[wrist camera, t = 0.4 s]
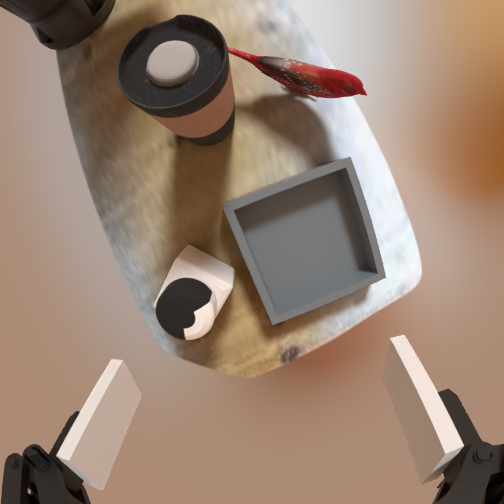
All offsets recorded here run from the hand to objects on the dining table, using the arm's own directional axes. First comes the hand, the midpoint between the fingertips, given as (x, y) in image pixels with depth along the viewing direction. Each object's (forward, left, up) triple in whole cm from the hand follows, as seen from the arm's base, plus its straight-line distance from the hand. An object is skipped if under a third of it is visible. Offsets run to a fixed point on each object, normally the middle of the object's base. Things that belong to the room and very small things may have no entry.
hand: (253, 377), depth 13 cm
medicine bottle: (+1, -7, -26) cm, 27 cm away
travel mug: (-18, +2, -26) cm, 32 cm away
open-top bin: (+1, +8, -26) cm, 27 cm away
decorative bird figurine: (-19, +13, -26) cm, 35 cm away
